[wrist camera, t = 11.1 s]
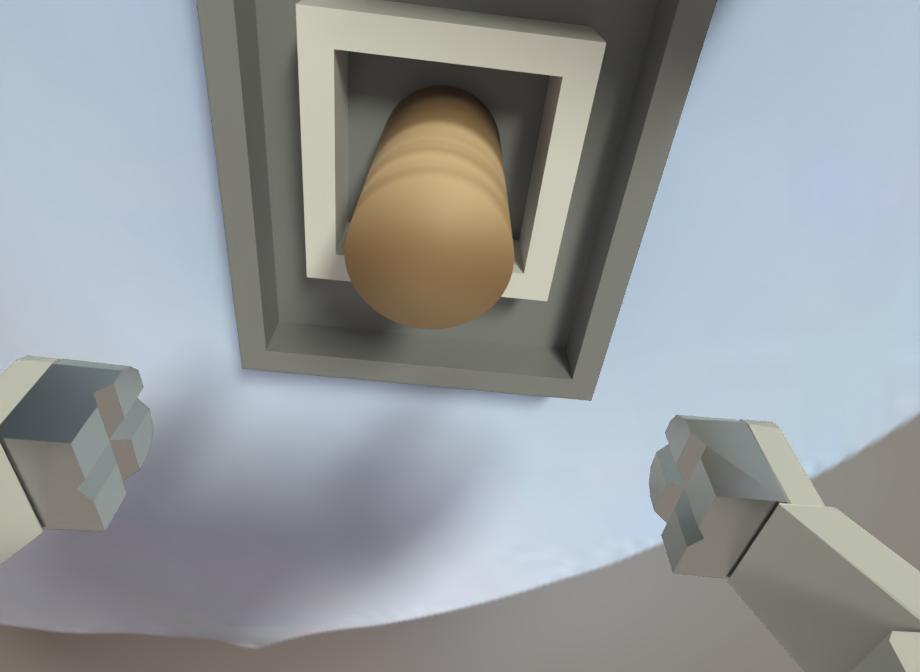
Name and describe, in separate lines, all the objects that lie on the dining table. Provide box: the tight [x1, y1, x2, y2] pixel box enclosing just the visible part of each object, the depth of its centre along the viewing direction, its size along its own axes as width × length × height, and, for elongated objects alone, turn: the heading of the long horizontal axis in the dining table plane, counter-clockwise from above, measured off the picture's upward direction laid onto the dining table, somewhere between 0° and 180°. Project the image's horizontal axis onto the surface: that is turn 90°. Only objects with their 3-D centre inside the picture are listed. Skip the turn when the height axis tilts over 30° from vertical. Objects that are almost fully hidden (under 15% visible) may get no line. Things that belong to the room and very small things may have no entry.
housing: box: [197, 0, 717, 401], centre depth 20 cm, size 18×14×4 cm
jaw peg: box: [344, 85, 514, 329], centre depth 18 cm, size 4×4×8 cm
